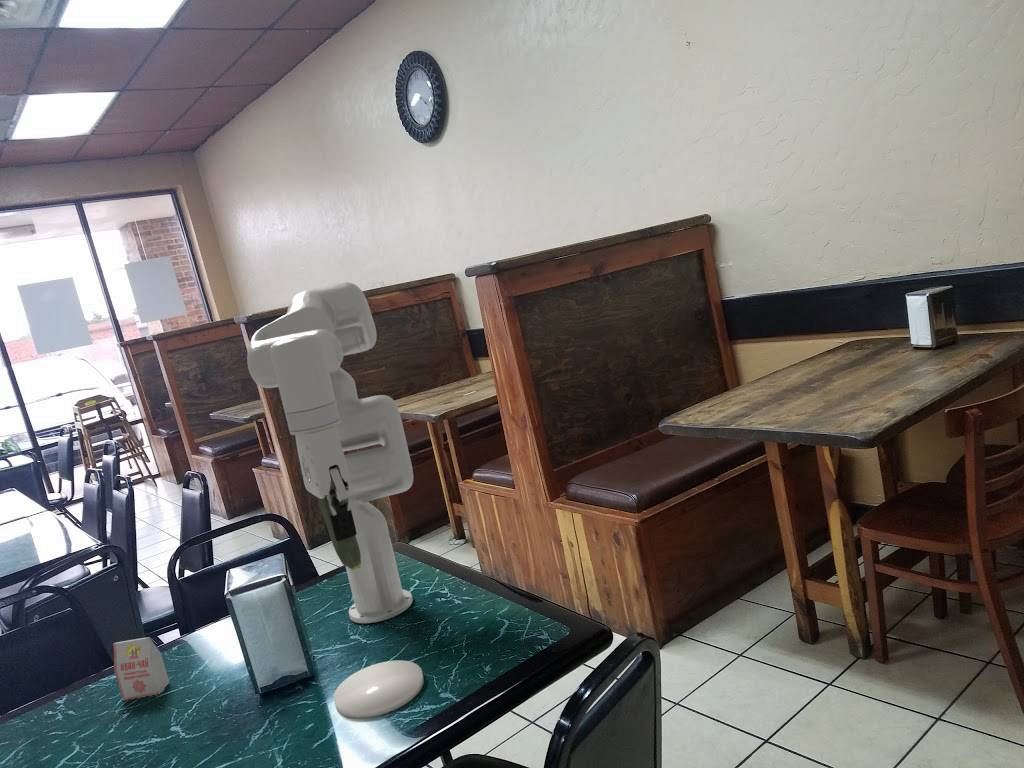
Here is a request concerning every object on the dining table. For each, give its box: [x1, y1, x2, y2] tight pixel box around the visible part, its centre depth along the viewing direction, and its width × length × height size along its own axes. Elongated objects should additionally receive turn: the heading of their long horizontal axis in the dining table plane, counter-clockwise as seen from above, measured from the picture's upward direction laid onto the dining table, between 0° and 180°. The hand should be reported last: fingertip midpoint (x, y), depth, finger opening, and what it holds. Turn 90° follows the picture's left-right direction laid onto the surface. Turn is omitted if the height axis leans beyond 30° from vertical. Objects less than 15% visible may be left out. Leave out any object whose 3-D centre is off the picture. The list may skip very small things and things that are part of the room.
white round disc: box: [333, 659, 425, 719], centre depth 123 cm, size 14×14×1 cm
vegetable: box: [316, 482, 361, 571], centre depth 118 cm, size 4×4×20 cm
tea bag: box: [112, 636, 170, 701], centre depth 138 cm, size 4×7×10 cm, turn 87°
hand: (341, 533), depth 119 cm, fingers closed on vegetable, 4 cm apart
